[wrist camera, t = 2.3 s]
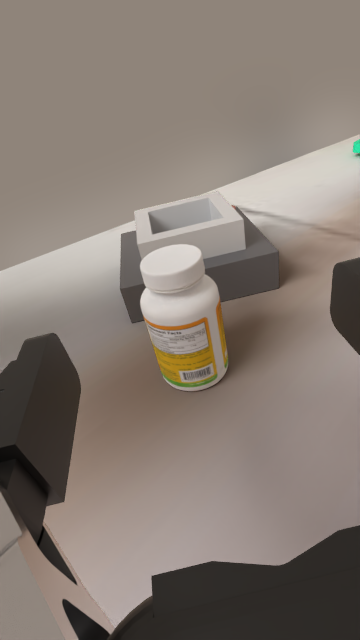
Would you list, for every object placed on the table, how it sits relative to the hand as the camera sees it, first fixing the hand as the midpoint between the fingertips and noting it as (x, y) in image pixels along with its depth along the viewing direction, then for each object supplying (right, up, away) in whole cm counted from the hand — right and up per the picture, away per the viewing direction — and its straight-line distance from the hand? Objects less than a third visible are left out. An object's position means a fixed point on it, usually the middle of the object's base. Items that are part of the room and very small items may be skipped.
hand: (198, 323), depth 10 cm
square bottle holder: (+1, +6, +29) cm, 29 cm away
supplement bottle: (+1, -4, +17) cm, 17 cm away
